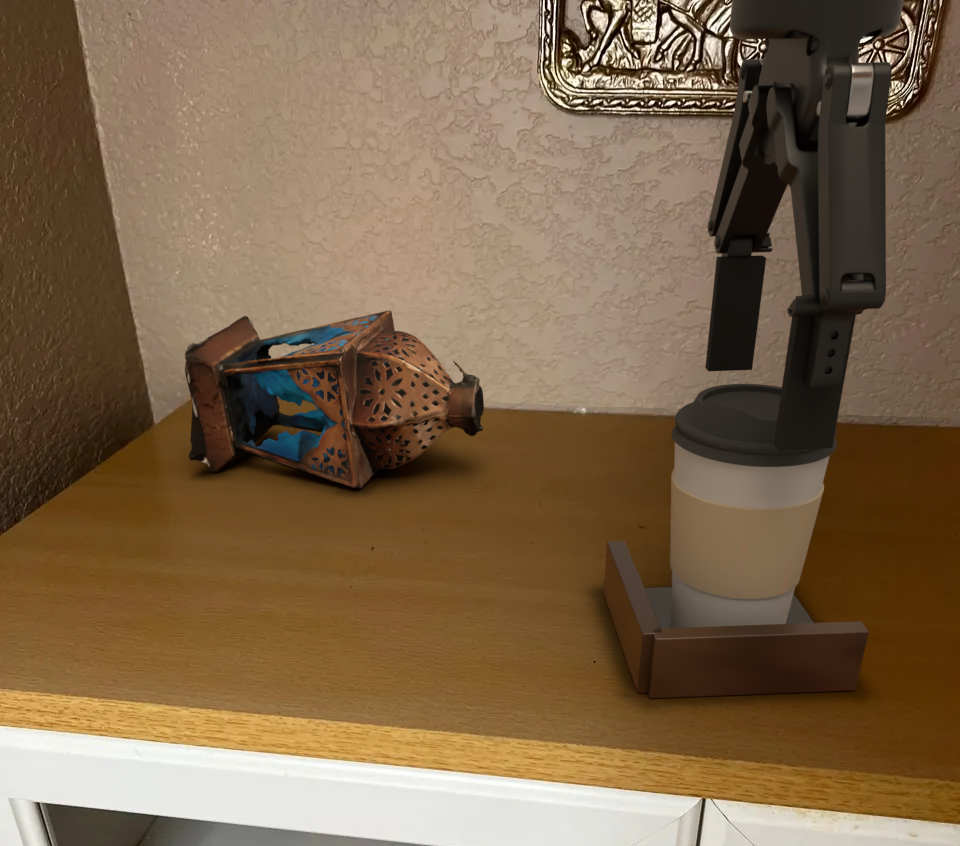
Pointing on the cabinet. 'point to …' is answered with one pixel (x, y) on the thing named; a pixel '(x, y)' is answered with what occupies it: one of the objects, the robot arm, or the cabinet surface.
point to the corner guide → (724, 645)
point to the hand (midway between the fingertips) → (761, 404)
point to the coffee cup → (739, 509)
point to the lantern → (325, 398)
